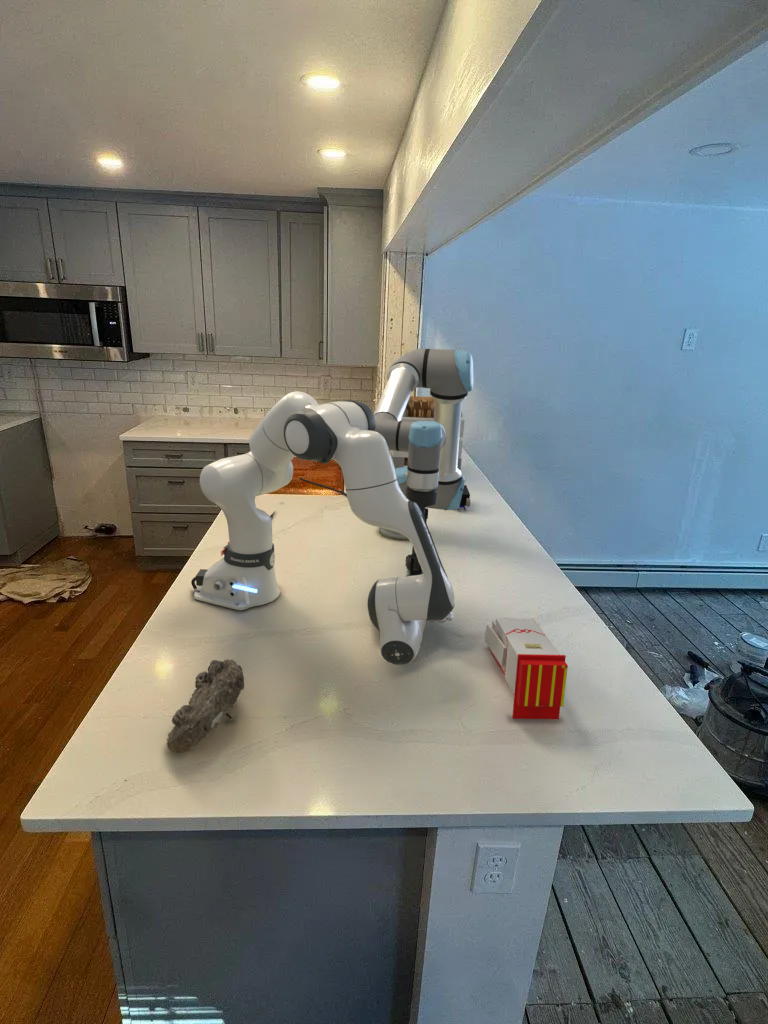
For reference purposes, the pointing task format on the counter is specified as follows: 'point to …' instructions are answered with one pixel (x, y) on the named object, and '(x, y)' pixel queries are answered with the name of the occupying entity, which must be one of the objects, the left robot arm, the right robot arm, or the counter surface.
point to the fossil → (206, 705)
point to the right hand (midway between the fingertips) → (415, 572)
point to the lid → (408, 562)
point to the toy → (529, 667)
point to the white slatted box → (421, 412)
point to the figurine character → (465, 498)
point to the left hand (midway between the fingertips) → (414, 589)
